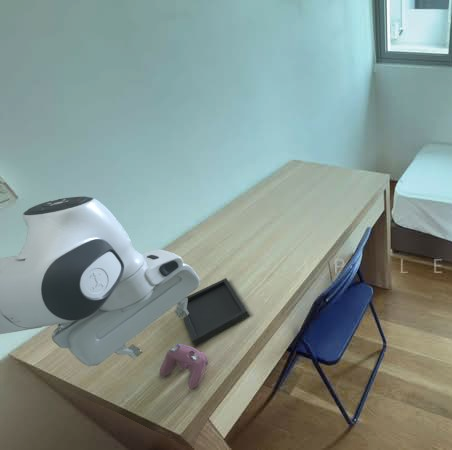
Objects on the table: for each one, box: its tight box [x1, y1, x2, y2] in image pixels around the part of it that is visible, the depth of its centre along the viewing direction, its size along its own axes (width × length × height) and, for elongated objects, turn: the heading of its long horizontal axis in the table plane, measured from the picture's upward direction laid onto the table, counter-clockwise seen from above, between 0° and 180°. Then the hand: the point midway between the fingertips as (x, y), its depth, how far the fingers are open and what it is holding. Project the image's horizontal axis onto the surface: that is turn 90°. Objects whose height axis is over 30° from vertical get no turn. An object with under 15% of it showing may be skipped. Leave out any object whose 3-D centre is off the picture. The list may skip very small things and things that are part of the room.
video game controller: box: [159, 343, 209, 390], centre depth 65 cm, size 10×5×7 cm, turn 71°
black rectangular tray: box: [182, 277, 250, 347], centre depth 80 cm, size 12×16×2 cm
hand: (161, 334), depth 60 cm, fingers open, 8 cm apart
